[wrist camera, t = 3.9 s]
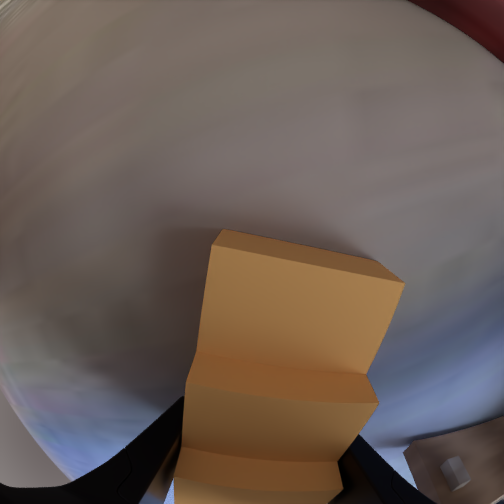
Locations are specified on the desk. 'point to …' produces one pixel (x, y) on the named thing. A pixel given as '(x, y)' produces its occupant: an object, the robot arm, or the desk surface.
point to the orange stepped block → (280, 371)
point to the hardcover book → (473, 20)
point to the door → (460, 464)
